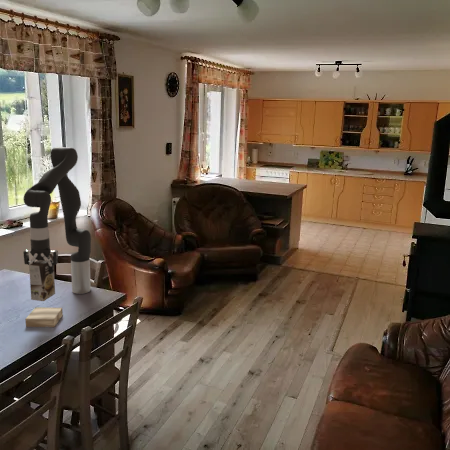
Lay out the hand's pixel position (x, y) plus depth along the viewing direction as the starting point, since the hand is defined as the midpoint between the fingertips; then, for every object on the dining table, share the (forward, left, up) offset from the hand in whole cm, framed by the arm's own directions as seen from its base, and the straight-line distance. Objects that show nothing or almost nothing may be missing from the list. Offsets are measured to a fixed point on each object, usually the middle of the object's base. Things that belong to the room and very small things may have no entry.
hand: (42, 273), depth 194 cm
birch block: (0, 0, -23) cm, 23 cm away
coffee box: (0, 0, -11) cm, 11 cm away
